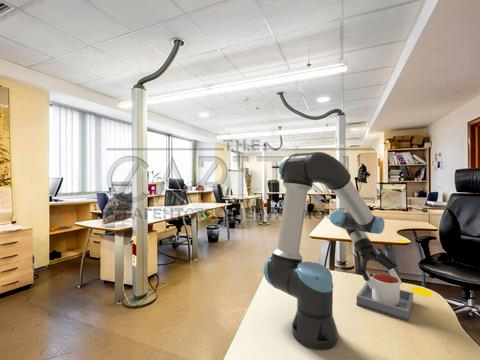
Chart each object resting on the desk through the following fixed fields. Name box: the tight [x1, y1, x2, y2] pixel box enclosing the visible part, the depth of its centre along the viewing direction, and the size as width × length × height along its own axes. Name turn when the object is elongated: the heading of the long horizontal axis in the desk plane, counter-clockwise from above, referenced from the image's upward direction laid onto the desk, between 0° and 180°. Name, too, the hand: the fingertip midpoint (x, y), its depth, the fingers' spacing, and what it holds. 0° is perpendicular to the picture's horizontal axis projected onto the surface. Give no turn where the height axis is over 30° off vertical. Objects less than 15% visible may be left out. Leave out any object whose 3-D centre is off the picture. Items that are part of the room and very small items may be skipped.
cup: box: [371, 273, 401, 306], centre depth 103 cm, size 10×10×10 cm
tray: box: [356, 281, 414, 322], centre depth 104 cm, size 18×18×4 cm
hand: (386, 286), depth 103 cm, fingers open, 13 cm apart
